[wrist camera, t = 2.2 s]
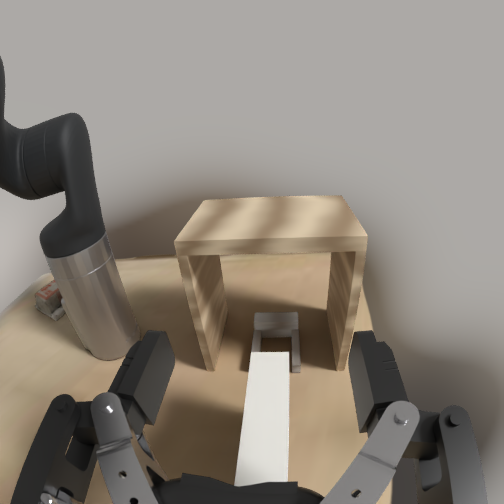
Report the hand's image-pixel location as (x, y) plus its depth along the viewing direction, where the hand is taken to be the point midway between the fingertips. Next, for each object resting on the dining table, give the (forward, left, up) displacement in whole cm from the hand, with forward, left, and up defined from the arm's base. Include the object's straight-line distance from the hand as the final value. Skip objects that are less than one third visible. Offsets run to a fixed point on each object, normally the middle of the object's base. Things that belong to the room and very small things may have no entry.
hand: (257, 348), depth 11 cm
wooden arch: (0, +20, -20) cm, 29 cm away
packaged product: (-43, +30, -21) cm, 57 cm away
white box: (0, +1, -20) cm, 20 cm away
